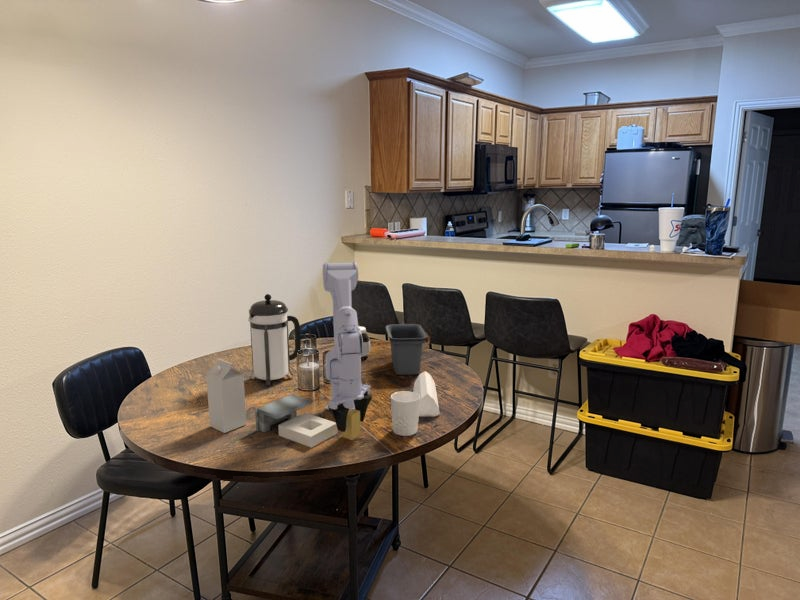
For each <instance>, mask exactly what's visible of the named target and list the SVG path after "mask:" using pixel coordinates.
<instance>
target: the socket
mask: <svg viewBox="0 0 800 600" xmlns="http://www.w3.org/2000/svg"><path fill="white" fill-rule="evenodd" d="M337 434H338V429H337V425H336V422H335V421H332V420H330V419H329V420H328V419H326V418H322V417H320V416H317V415H313V414H310V413H309V412H303V413H300V414H298V415H297V417H295V418H292V419H288V420H286V421H284V422H282V423H280V424H278V436H279V437H282V438H284V439H288V440H290V441H292V442H295V443H298V444H301V445H303V446H305V447H308V448H314V447H316V446H317V445H319V444H321V443H323V442H325V441H326V440H328V439H330V438H331V437H333V436H335V435H337Z"/></svg>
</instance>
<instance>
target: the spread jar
mask: <svg viewBox="0 0 800 600" xmlns="http://www.w3.org/2000/svg"><path fill="white" fill-rule="evenodd" d="M358 327H359V328H360V331H361V334H362V338H363V351H362V354H361V352H360V354H361V360H365V359H366V358H367V357H368V356H369V355H370V352H371V339H370V336H369V334H368V333H367V329H366V327H365V326H360V325H358Z"/></svg>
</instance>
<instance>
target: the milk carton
mask: <svg viewBox="0 0 800 600" xmlns="http://www.w3.org/2000/svg"><path fill="white" fill-rule="evenodd" d="M215 361H216V362H215V363H214V365H212V367H211V368H210V370H209V371H208V372H207V373H206V377H205V378H206V379H205V380H206V389H207V403H208V416H209V417H208V418H209V427H211V428H213V429H214V430H217V431H219V432H221V433H223V434H226V433H228V432H231V431H233V430H236V429H239V428H241V427H244V426H246V425H247V414H246V413H247V411H246V397H245V396H246V395H245V394H246V393H245V382H244V381H245V379H244V376H245V375H244V373H242V372H241V371H239V370H238V369H236V368H234V367H233V365H232V364H233V363H232V362H228V361H226V360H223V359H221V358H218V357H216V360H215Z"/></svg>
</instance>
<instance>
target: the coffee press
mask: <svg viewBox="0 0 800 600" xmlns="http://www.w3.org/2000/svg"><path fill="white" fill-rule="evenodd" d="M263 298H264V300H258V301H256V302H254V303H253V304H251V306H250V308H249V310H248V322H249V326H250V342H251V343H250V346H251V361H252V362H251V365H252V372H251V374H250V376H249V380H251V381H253V380H255V379H259V380H263V381H265V387H271V384H272V381H273V380H280V379H283V378H285V377H287V378H288V379H289V380H293V378H294V377H295V375H294V374H293V373H292V371H291V362H290V361H293V360H295V359H297V358H298V356H297V352H298V350H300V351H301V348H302V347H301V346H302V345H301V342H302V341H301V326H300V321H299V320H298V318H297V317H296V316H293V315H288V312H289V308H288V306H287V305H286V304H285V302H283V301H280V300H273V299H272V295H271V294H269V293H266V294H265V296H264V297H263ZM289 322H292V323H293V326H294V351H293V353H291V354H290V343H289V342H290V339H289V338H290V337H289ZM288 374H290V375H291V376H292V377H291V376H289V375H288ZM252 375H254V377H252Z"/></svg>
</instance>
